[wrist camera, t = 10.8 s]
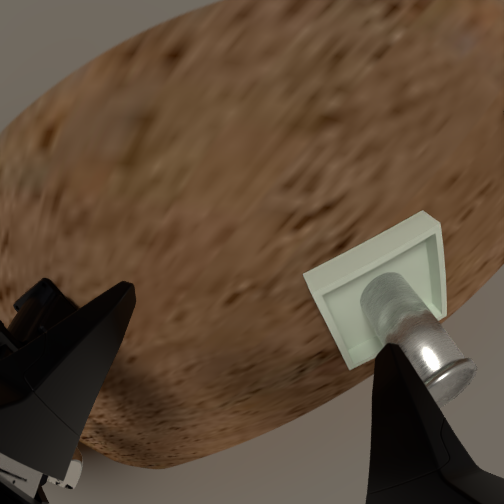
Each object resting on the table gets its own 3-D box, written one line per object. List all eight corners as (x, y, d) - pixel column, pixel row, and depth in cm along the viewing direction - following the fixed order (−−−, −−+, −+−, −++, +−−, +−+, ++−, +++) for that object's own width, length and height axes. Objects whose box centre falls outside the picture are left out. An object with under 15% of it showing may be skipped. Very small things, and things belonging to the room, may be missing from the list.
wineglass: (48, 397, 29) (27, 470, 19) (66, 388, 28) (43, 471, 17) (80, 419, 32) (66, 490, 21) (101, 411, 30) (87, 491, 20)
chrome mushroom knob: (354, 322, 25) (403, 424, 16) (358, 275, 23) (426, 383, 13) (403, 309, 25) (460, 397, 16) (412, 263, 23) (487, 353, 13)
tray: (341, 351, 28) (349, 370, 26) (302, 274, 23) (311, 293, 20) (434, 300, 26) (446, 315, 24) (422, 210, 21) (440, 223, 19)
